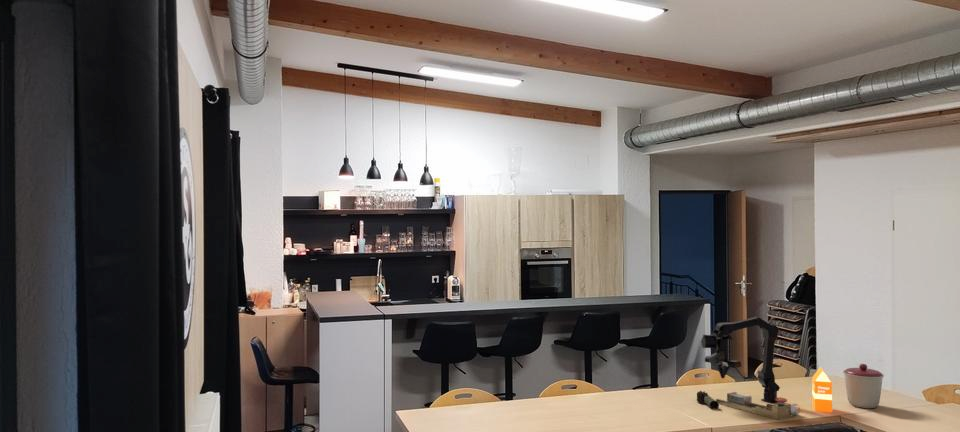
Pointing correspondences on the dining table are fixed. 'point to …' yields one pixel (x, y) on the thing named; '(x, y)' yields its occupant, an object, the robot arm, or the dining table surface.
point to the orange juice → (821, 392)
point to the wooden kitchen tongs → (768, 408)
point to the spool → (739, 399)
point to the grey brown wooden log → (707, 400)
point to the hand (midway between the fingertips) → (722, 378)
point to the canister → (863, 386)
